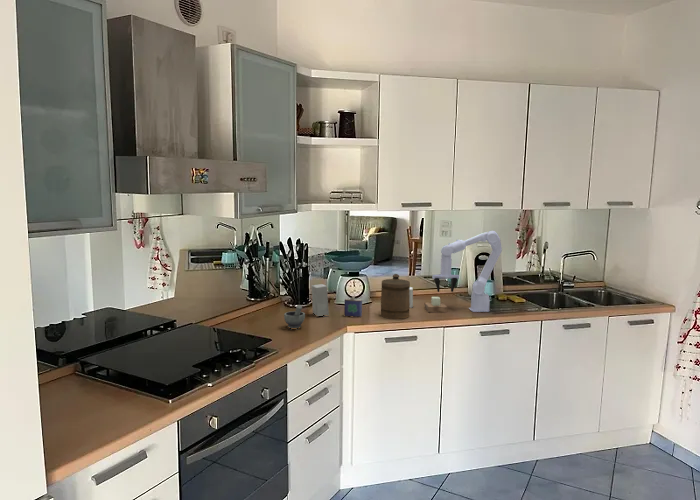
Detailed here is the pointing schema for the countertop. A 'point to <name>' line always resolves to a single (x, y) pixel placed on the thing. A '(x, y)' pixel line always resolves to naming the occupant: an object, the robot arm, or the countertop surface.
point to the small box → (411, 297)
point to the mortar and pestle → (294, 317)
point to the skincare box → (320, 300)
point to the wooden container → (395, 298)
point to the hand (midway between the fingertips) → (445, 291)
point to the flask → (353, 307)
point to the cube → (435, 301)
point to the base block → (436, 307)
